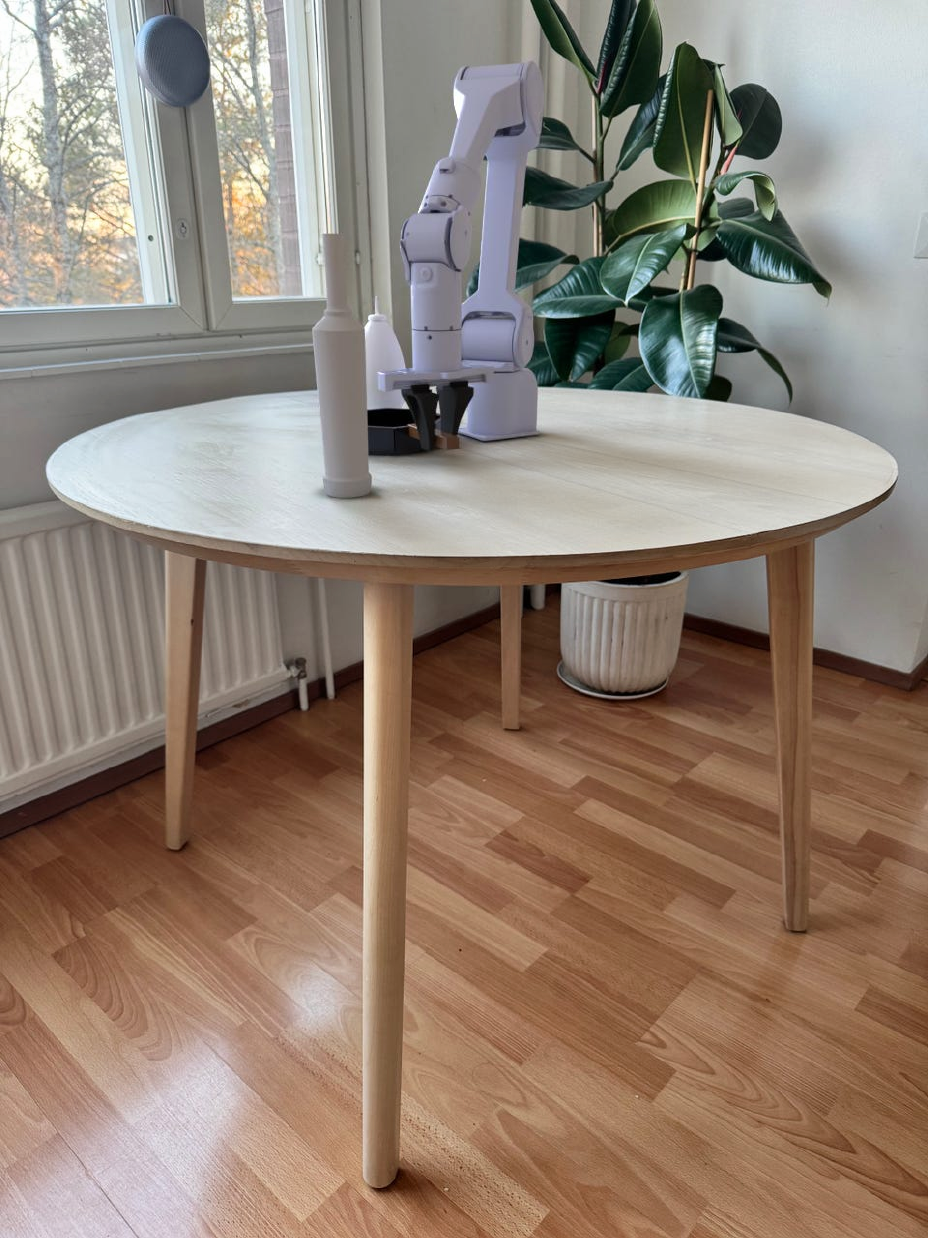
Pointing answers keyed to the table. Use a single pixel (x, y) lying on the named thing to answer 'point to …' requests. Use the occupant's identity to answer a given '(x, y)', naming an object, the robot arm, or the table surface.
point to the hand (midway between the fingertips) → (438, 447)
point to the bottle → (341, 383)
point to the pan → (401, 433)
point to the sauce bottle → (381, 361)
